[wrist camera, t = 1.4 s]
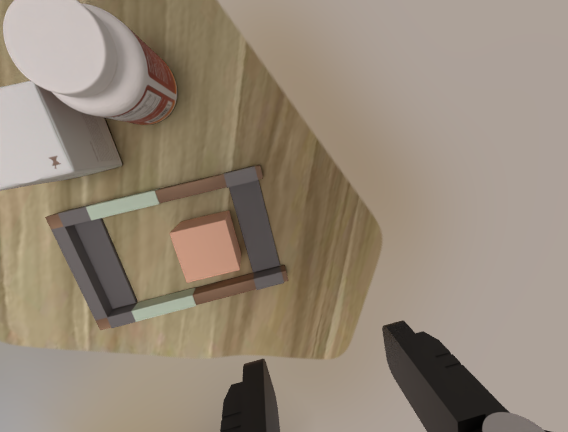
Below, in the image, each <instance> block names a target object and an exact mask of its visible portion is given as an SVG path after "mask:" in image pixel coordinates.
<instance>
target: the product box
mask: <svg viewBox="0 0 568 432" xmlns="http://www.w3.org/2000/svg"><path fill="white" fill-rule="evenodd" d="M120 166H122V162H121V159H120V157H119V154H118V152H117V149H116V147H115V144H114V142H113V139H112V136H111V134H110V131H109V129H108V126H107V124H106V121H105V119H104V117H98V116H93V115H89V114H86V113H82V112H80V111H77V110H75V109H73V108H71V107H70V106H68V105H66V104H65V103H64V102H62V101H61V100H60V99H58V98H57V97H56V96H55V95H54V94H53V93H52V92H51V91H48V90H46V89H44V88H42V87H40V86H38V85H36V84H35V83H33V82H32V81H27V82H22V83H18V84H13V85H8V86H3V87H0V191H1V190H7V189H12V188H18V187H24V186H29V185H35V184H41V183H48V182H55V181H62V180H68V179H72V178H77V177H81V176H86V175H90V174H94V173H98V172H101V171H105V170H109V169H113V168H117V167H120Z"/></svg>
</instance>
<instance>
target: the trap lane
mask: <svg viewBox="0 0 568 432" xmlns="http://www.w3.org/2000/svg"><path fill="white" fill-rule="evenodd" d="M262 178H263V176H262V172H261V168H260V165H257V166H251V167H247V168H243V169H239V170H234V171H230V172H226V173H224V174H220V175H216V176H211V177H207V178H203V179H199V180H195V181H190V182H186V183H182V184H178V185H174V186H169V187H165V188H161V189H160V188H159V189H155V190H150V191H146V192H142V193H138V194H134V195H130V196H125V197H121V198H117V199H113V200H109V201H104V202H100V203H96V204H92V205H88V206H83V207H79V208H75V209H71V210H67V211H64V212H61V213H57V214H53V215H50V216H47V217H45V218H46V220H47V222H48V224H49V226H50V228H51V230H52V232H53V234H54V236H55V238H56V240H57V242H58V244H59V246H60V248H61V251H62V253H63V255H64V257H65V259H66V261H67V263H68V265H69V267H70V269H71V271H72V273H73V275H74V277H75V279H76V281H77V283H78V285H79V287H80V290H81V292H82V294H83V296H84V298H85V300H86V302H87V304H88V306H89V308H90V310H91V312H92V314H93V316H94V318H95V320H96V322H97V324H98V327H99V329H100V330H103V329H107V328H114V327H118V326H122V325H126V324H130V323H133V322H137V321H141V320H145V319H149V318H152V317H156V316H160V315H164V314H168V313H171V312H175V311H179V310H183V309H186V308H190V307H194V306H196V305H198V304H202V303H206V302H210V301H213V300H217V299H221V298H225V297H229V296H232V295H236V294H240V293H244V292H247V291H251V290H255V289H257V290H259V289H262V288H266V287H270V286H274V285H278V284H281V283H284V282H285V281H288V277H287V273H286V269H285V265H282V266H280V264H279V260H278V256H277V252H276V248H275V244H274V240H273V236H272V232H271V228H270V224H269V220H268V216H267V212H266V208H265V204H264V201H263V197H262V193H261V189H260V185H259V181H258V179H262ZM225 187H227V188H228V187H229V189H230V193H231V196H232V200H233V203H234V207H235V210H236V214H237V217H238V221H239V224H240V228H241V231H242V235H243V238H244V242H245V245H246V249H247V252H248V256H249V259H250V263H251V266H252V270H253V272H254V273H251V274H247V275H243V276H239V277H236V278H232V279H228V280H224V281H220V282H216V283H212V284H209V285H205V286H201V287H197V288H192V289H188V290H184V291H180V292H176V293H172V294H168V295H165V296H161V297H157V298H153V299H149V300H145V301H141V302H138V303H136V302H137V299H136V297H135V295H134V292H133V290H132V288H131V285H130V283H129V281H128V278H127V276H126V274H125V271H124V269H123V267H122V264H121V262H120V260H119V257H118V255H117V253H116V250H115V248H114V246H113V243H112V241H111V239H110V236H109V234H108V232H107V229H106V227H105V225H104V222H103V220H102V218H104V217H108V216H112V215H116V214H120V213H124V212H128V211H133V210H137V209H141V208H145V207H149V206H153V205H157V204H160V203H163V202H167V201H171V200H175V199H179V198H184V197H188V196H192V195H196V194H200V193H204V192H208V191H213V190H217V189H221V188H225ZM268 268H269V269H268ZM264 269H265V270H264ZM133 303H134V304H133Z"/></svg>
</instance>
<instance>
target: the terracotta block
mask: <svg viewBox="0 0 568 432" xmlns="http://www.w3.org/2000/svg"><path fill="white" fill-rule="evenodd" d="M170 236H171V239H172V242H173V245H174V248H175V250H176V253H177V256H178V259H179V262H180V265H181V268H182V270H183V273H184V276H185V279H186V282H187V283H188V282H193V281H197V280H201V279H205V278H209V277H213V276H217V275H221V274H225V273H229V272H233V271H237V270H240V262H241V251H240V247H239V244H238V240H237V237H236V233H235V229H234V226H233V222H232V219H231V215H230V212H229V210H228V211H223V212H219V213H215V214H211V215H206V216H202V217H198V218H194V219H189V220H185V221H181V222H180V223H179V224H178V225H177V226H176V227H175V228H174V229H173V230H172V231H171V232H170Z"/></svg>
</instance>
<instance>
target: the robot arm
mask: <svg viewBox="0 0 568 432" xmlns="http://www.w3.org/2000/svg"><path fill="white" fill-rule="evenodd" d="M382 330H383V337H384V344H385V350H386V357H387V362H388V364H389V368H390V370H391V373H392V375H393V377H394V379H395V380H396V382H397V383H398V385H399V387H400V388H401V390H402V392H403V393H404V395H405V396H406V398H407V400H408V401H409V403H410V404H411V406H412V408H413V409H414V411H415V413H416V414H417V416H418V417H419V419H420V421H421V422H422V424H423V426H424V427H425V429H426V430H427V432H550V431H546V430H543V429H542V428H541V427H539V426H538V425H536V424H535V423H533V422H531V421H530V420H528V419H526V418H524V417H521V416H519V415H516V414H512V413H510V412H509V411H507V410H506V409H505V408H504V407H503V406H502V405H501V404H500V403H499V402H498V401H497V400H496V399H495V398H494V397H493V395H492V394H490V393H489V391H488V390H487V389H486V388H485V387H484V386H483V385H482V384H481V383H480V382H479V381H478V380H477V379H476V378H475V377H474V376H473V375H472V374H471V373H470V372H469V371H468V370H467V369H466V368H465V367H464V366H463V365H461V363H460V362H459V361H458V359H457V358H455V356H454V355H451V353H450V351H449V350H448V349H447V348H446V347H445V346H444V345H443V344H442V343H441V342H440V341H439V340H438V339H436V338H434V337H432V336H430V335H429V334H427V333H425V332H419V333H416V334H415V333H414V332H413V330H412V329H411V328H410V327H409V326H408V325H407V324H406V323H405V322H404V321H399V322H395V323H392V324H388V325H384V326H383V328H382ZM220 431H221V432H280V427H279V417H278V407H277V402H276V396H275V392H274V388H273V385H272V382H271V378H270V375H269V372H268V368H267V365H266V362H265V360H264V359H261V360H257V361H254V362H250V363H246V364H244V366H243V382H240V383H236V384H233V385H231V387H230V389H229V391H228V393H227V395H226V397H225V399H224V403H223V412H222V421H221V430H220Z"/></svg>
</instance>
